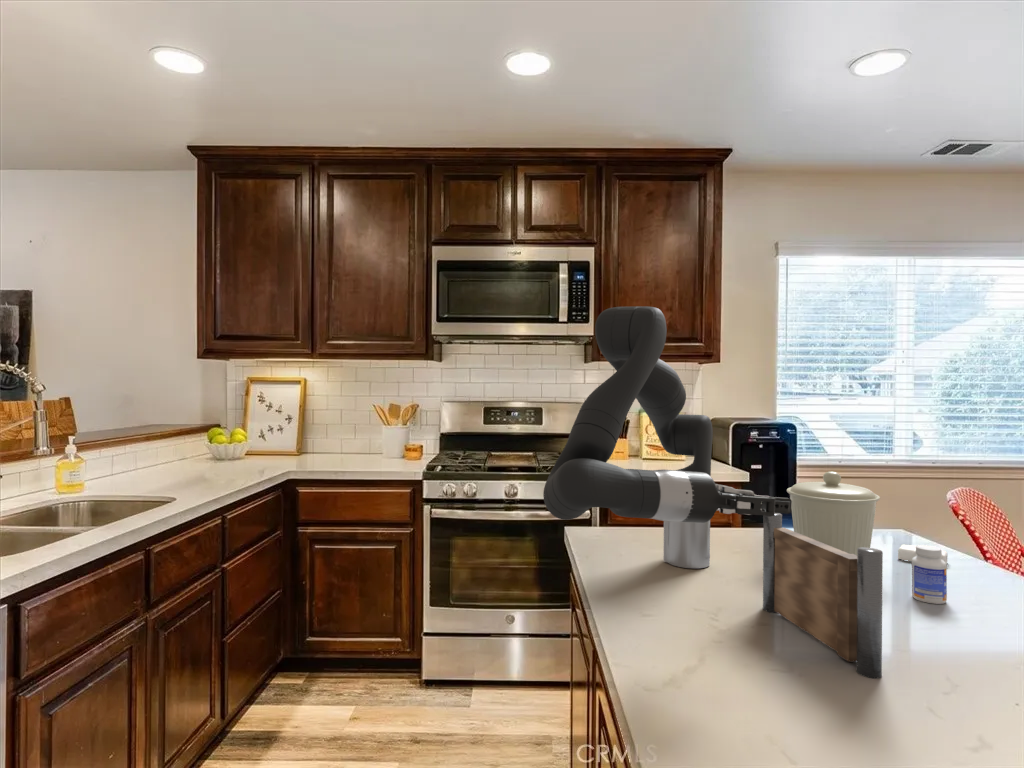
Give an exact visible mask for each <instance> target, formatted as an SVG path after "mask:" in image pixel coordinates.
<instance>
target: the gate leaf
mask: <svg viewBox="0 0 1024 768" xmlns="http://www.w3.org/2000/svg"><path fill="white" fill-rule="evenodd" d="M774 538H775V592H774V611H776V612H777V613H776V614H778V615H780V616H782V617H783V618H785V619H786V620H788V621H790V622H791V623H793V624H794V625H795V626H797V627H799V628H800V629H801V630H803V631H804V632H806V633H808V634H809V635H811V636H813V638H815V639H817V640H819V641H820V642H822V643H823V644H825V645H826V646H827V647H829V648H831V649H832V650H833V651H835V652H836V654H837V655H838V656H839V657H840V658H842V659H844V660H845V661H847V662H848V663H849V662H857V555H854V554H849V553H846V552H844V551H841V550H839V549H836V548H834V547H831V546H829V545H826V544H824V543H821V542H819V541H816V540H814V539H811V538H809V537H806V536H804V535H801V534H799V533H796V532H794V530H791V529H788V528H786V527H782V528H774Z"/></svg>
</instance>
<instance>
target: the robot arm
mask: <svg viewBox="0 0 1024 768" xmlns="http://www.w3.org/2000/svg"><path fill="white" fill-rule="evenodd" d="M666 321H667V320H666V317H665V314H664V313H663V312H662V310H661V309H659V308H657V307H654V306H646V305H645V306H641V305H639V306H616V307H615V306H613V307H609V308H607V309H605V310H604V309H603V311H601V312H600V313H599V314H598V316H597V318H596V321H595V326H594V334H595V340H596V344H597V346H598V349H599V351H600V353H601V354H602V356H603V358H604V359H605V360H606V361H607V362H608V363H609V364H610V365H611V367H613V368H614V370H616V371H615V372H614V373H613V374H612V375H611V376H610V377H609V378H607V379H606V380H604V381H603V382H602V383H601V384H600V385H598V386H597V387H596V388H595V389H594V390H593V391H592V392H591V393H590V394H589V395H588V396H587V397H586V399H585V400H584V401H583V402H582V404H581V406H580V408H579V410H578V413H577V415H576V418H575V419H574V423H573V425H572V428H571V430H570V433H569V435H568V437H567V438H568V439H567V441H566V444H565V446H564V448H563V450H562V451H561V453H560V455H559V456H558V458H557V459H556V462H555V463H554V465H553V467H552V469H551V471H550V473H549V475H548V477H547V480H546V481H545V484H544V488H543V493H542V494H543V502H544V505H545V508H546V509H547V511H548V512H549V513H550V514H551V515H552V516H553V517H555V518H557V519H559V520H562V521H563V520H564V521H569V520H574V519H576V518H579V517H581V516H582V515H583V514H585V513H586V512H587V511H588V510H589V509H591V508H592V509H593V508H605V509H609V510H610V511H611V512H612V513H613V514H615V515H616V516H619V517H623V518H631V519H633V518H637V519H653V520H656V521H662V522H663V560H662V561H663V562H664V563H667V564H670V565H672V566H675V567H679V568H683V569H684V568H685V569H703V568H708V567H709V566H710V565H711V561H710V559H711V519H713V517H714V516H715V513H716V512H717V511H719V513H721V514H727V515H731V514H737V515H747V516H753V515H755V516H764V515H768V516H775V513H780V514H791V513H792V509H791V505H792V501H791V499H790V497H789V498H788V497H779V496H778V497H777V496H775V497H774V496H769V495H766V494H765V495H759V494H758V495H757V494H756V492H755V491H754V490H751V489H740V488H739V489H738V488H737V489H736V488H734V487H732V486H728V485H723V484H718V483H716V482H715V481H714V479H713V478H712V477H711V475H712V451H713V450H712V448H713V437H714V436H713V432H714V431H713V429H714V428H713V422H712V420H711V418H710V417H709V416H707V415H704V414H686V413H685V414H684V413H682V414H681V411H682V410H683V408H684V406H685V404H686V399H687V391H686V388H685V386H684V384H683V383H682V380H681V378H680V375H678V373H677V371H676V370H675V369H674V368H673V367H672V366H671V365H670V364H668V363H667V362H665V361H664V360H662V359H660V357H661V356H662V353H663V350H664V348H665V344H666V342H667V330H668V329H667V322H666ZM635 400H637V402H638V403H639V405H640V406H641V408H642V410H643V411H644V413H645V414H646V415H647V417H648V418H649V420H650V422H651V424H652V426H653V428H654V430H655V433H656V434H657V437H658V439H659V442H660V444H661V446H662V448H663V449H664V450H665V451H666V452H667V453H668V454H670V455H674V456H689V457H693V461H692V463H691V464H688V465H687V466H686V467H681V468H680V469H673V470H672V469H639V468H638V469H636V468H623V467H621V466H619V465H615V464H613V463H609V462H608V461H609V460H610V458H611V456H612V455H613V452H614V451H615V449H616V445H617V443H618V440H619V438H620V435H621V431H622V429H623V426H624V423H625V421H626V419H627V416H628V414H629V412H630V410H631V408H632V405H633V403H634V402H635Z"/></svg>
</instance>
